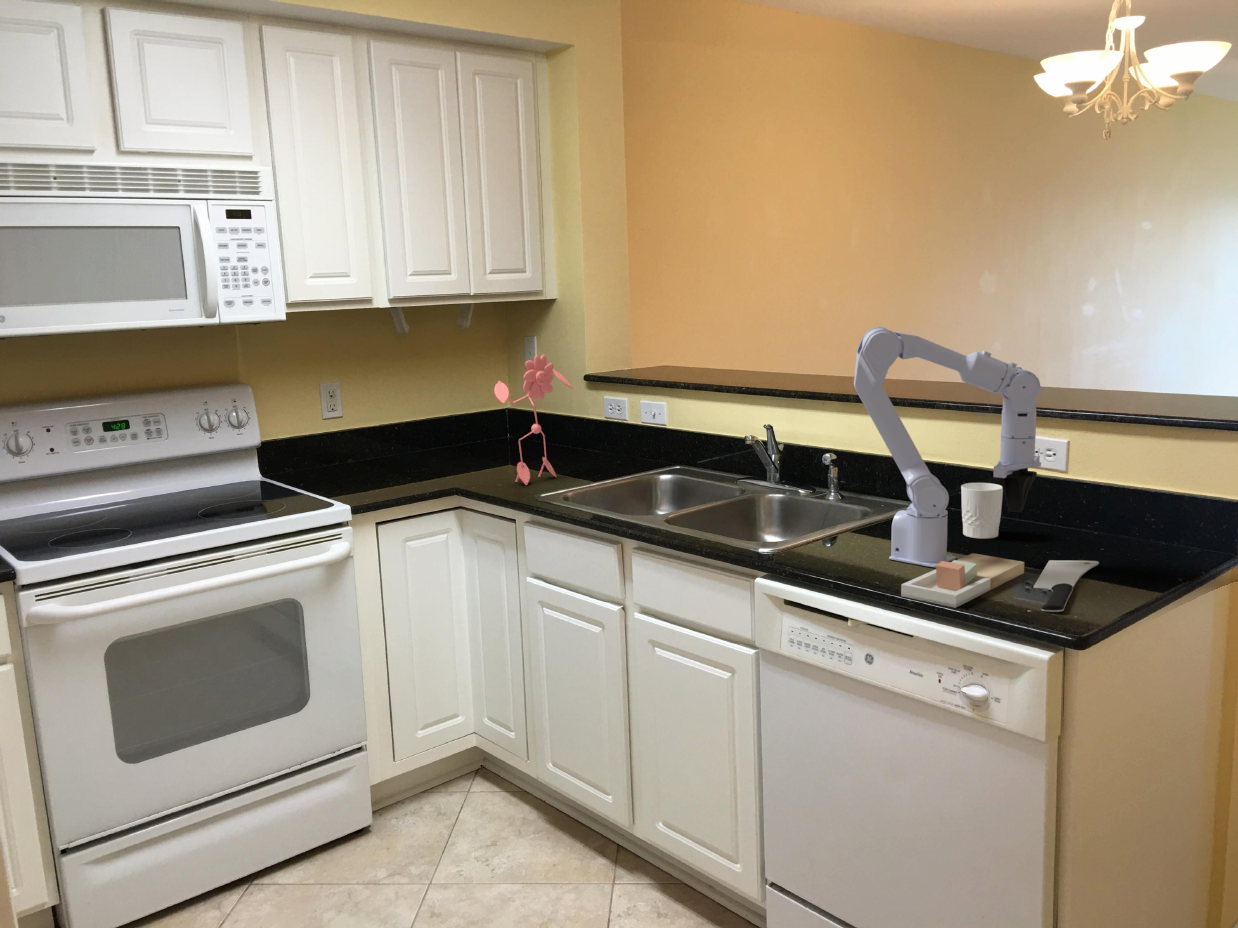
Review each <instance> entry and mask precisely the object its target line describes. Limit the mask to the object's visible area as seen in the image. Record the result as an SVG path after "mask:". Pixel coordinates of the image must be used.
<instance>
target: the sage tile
mask: <svg viewBox="0 0 1238 928" xmlns="http://www.w3.org/2000/svg"><path fill="white" fill-rule="evenodd" d="M957 560H958V559H954V560H952V561H950V562H951V563H957V564H962V565H964V566H965V580H966V584H967V583H969V582H970V581H971V580H972V579H973V578H974V577H975V576H977V564H974V563H968V562H963V561H957Z"/></svg>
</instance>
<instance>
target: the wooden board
mask: <svg viewBox="0 0 1238 928" xmlns="http://www.w3.org/2000/svg"><path fill="white" fill-rule="evenodd" d="M956 560H957V561H963V562H968V563H974V564H977V576H975V577H974V578H973V579H972V580H971V581H970V582H969V583H970V584H972V583H974V582H976V581H979V580H981V579H983V578H990V579H991V580H990V591H991V590H993V589H996V588H997V587H1000V586H1001V585H1003V584H1005V583H1007V582H1009V581H1011V580H1014V579H1015V578H1017V577H1019V576H1021V575H1024V573H1025V561H1021V560H1015V559H1011V558H1010V559H1008V558H1003V557H998V556H997V557H996V556H991V555H985V554H978V553H973V552H972V553H970V554H968V555H965V556H962V557H961V558H958V559H956Z"/></svg>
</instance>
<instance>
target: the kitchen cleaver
mask: <svg viewBox="0 0 1238 928" xmlns="http://www.w3.org/2000/svg"><path fill="white" fill-rule="evenodd" d="M1099 564H1100V562H1099V561H1098V560H1068V559H1067V560H1062V559H1061V560H1054V559H1053V560H1052V559H1051V560H1050V559H1049V560H1048V562H1047V563H1046V565H1045V567H1044V569H1043V570H1042V572H1041V573H1040V575H1039V577H1038V578H1037V580H1036V582H1035V583H1034V585H1033V587H1032V589H1041V590H1049V591H1051V595H1050V596H1049V598H1048V600H1047V601H1046V603H1044V605H1042V606H1041V609H1040V610H1041V613H1042V612H1043V613H1045V614H1051V615H1053V614H1054V615H1061V614H1062V613H1063V612H1064V611H1065V608H1066V607H1067V603H1068V601H1069V599H1070V597H1071V595H1072V593H1073V590H1074V587H1075V586H1076V584H1077V582H1078V581H1079V579H1080V578H1081V577H1082V576H1083V575H1084V574H1086V573H1087V572H1089V570H1091V569H1092V568H1094V567H1097V566H1098V565H1099Z"/></svg>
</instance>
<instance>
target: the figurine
mask: <svg viewBox="0 0 1238 928" xmlns="http://www.w3.org/2000/svg"><path fill="white" fill-rule="evenodd" d="M524 363H525V364H524V366H525V369H526V370H527V371H526V372H525V373H524V375H523V380H524V383H523V388H522V391H523V392H524V393H527V394H526V395H524V396H522V397H520V398H519V399H516V400H514V401H513V400H512V398H511V396H510V394H509V393H510V391H509V388H508V386H507V385H506V384H505V383H504V382H502V381H501V380H498V381H497V383H495V385H494V391H493V393H494V395H495V397H496V399H497V400H498V401H499V402H500V403H502V404H503V405H504V404H505V403H506V402H507V400H509V402H510V404H511V405H515V404H516V403H518V402H520V401H522V400H524V399H526V398H528V399H529V401H530V403H531V405H532V407H533V413H534V418H535V423H533V424H532V426H531V429H530V430H531V431H530V432H529V433H527V434H526V435H524V436H523V437H521V438H519V439H518V447H519V454H520V455H519V456H520V461H519V462H518V463H517V465H516V472H517V475H516V478H515V481H514V483H515V482H517V483H518V480H519V479H520V480H521V482H522V483H523V484H524V485H525V486H527V485H528V484H529V481H530V479H531V473H530V469H529V467H528V466H527V464H526V463H525V462H524V461H523V456H522V447H521V440H523V439H525V438H526V437H529V436H530V435H531V434H532V433H533V434H536V435H537V434H539V433H541V434H542V437H543V448H544V456H542V462H543V463H542V465H541V467H540V471H539V473H538V476H537V478H538V477H540V478H541V476H542V473H543V470H544V467H545V468H546V469H547V470H548V471H549V472H550V474H551V475H553V477H554V478H557V475H556V472H555V470H554V468H553V466H552V464H551V463H550V462H549V460H548V459H547V450H546V449H547V447H546V438H545V437H546V435H545V434H544V432H543V431H542V426H541V425H540V424H539V422H538V416H537V410H536V406H535V404H534V401H536V400H537V399H539V400H540V401H543V400H544V398H545V396H546V395H545V394H550V393H552V392H553V391H554V388H553V385H552V382H553V381H554V379H555V376H556V377H557V378H558V380H559V381H560V382H562V383H563V384H564V385H565V386H566V387H568V388H569V389H570V388H571V389H574V388H573V386H572V385H571V383H570V382H569V381H568V379H567V378H566V377H564V375H563V374H561V373H560V372H559V371H558V370H556V369H554V363H552V362H550V363H548V359H547V355H546V354H542V355H541V356H539V355H535V356H534V358H533V360H529V359H528V360H527V361H525V362H524ZM497 486H500V487H501V486H502V485H501V484H497Z"/></svg>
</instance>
